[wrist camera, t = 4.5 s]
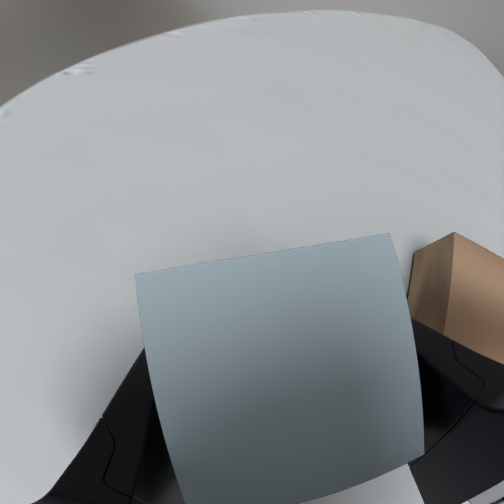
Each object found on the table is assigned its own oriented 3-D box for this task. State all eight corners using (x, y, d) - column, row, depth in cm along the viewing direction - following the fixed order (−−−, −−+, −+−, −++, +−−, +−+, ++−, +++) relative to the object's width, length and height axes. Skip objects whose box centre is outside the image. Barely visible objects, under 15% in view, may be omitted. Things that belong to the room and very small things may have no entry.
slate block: (309, 387, 14) (424, 453, 4) (213, 406, 13) (191, 519, 4) (291, 294, 15) (389, 232, 6) (195, 311, 15) (135, 274, 5)
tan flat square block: (476, 407, 14) (515, 413, 10) (383, 398, 14) (423, 412, 10) (497, 288, 16) (535, 278, 13) (414, 252, 16) (454, 231, 13)
